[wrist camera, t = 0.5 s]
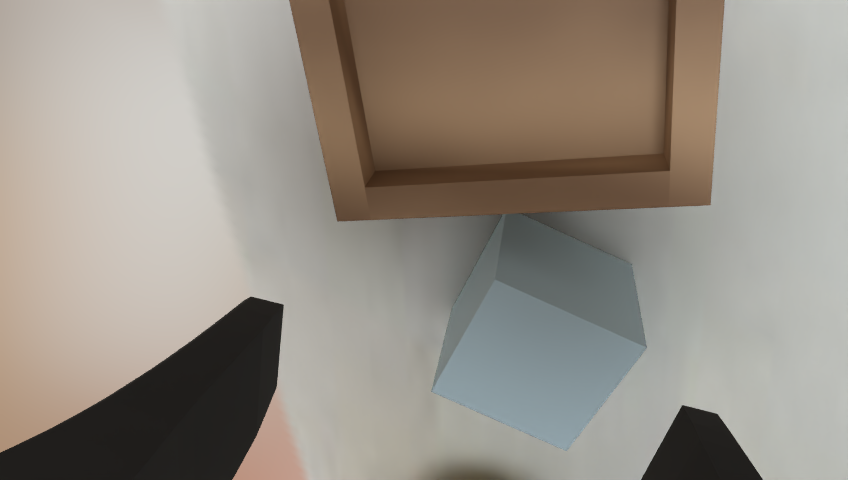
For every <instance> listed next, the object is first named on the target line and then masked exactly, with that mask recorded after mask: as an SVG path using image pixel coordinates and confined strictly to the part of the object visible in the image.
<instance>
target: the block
mask: <svg viewBox="0 0 848 480" xmlns="http://www.w3.org/2000/svg"><path fill="white" fill-rule="evenodd" d="M646 348H647V346H646V341H645V335H644V329H643V324H642V318H641V313H640V307H639V302H638V296H637V291H636V285H635V279H634V274H633V268H632V264H630V263H628V262H626V261H623V260H621V259H619V258H617V257H615V256H612V255H610V254H608V253H606V252H604V251H601V250H599V249H597V248H595V247H593V246H590V245H588V244H586V243H584V242H582V241H579V240H577V239H575V238H573V237H570V236H568V235H566V234H564V233H562V232H559V231H557V230H555V229H553V228H551V227H548V226H546V225H544V224H542V223H540V222H537V221H535V220H533V219H531V218H529V217H526V216H524V215H522V214H520V213H518V214H503V215H502V217H501V219H500V221H499V222H498V224H497V226H496V228H495V230H494V232H493V234H492V235H491V237H490V239H489V241H488V243H487V245H486V247H485V248H484V250H483V252H482V254H481V256H480V258H479V260H478V261H477V263H476V265H475V267H474V269H473V271H472V272H471V274H470V276H469V278H468V280H467V282H466V284H465V285H464V287H463V289H462V291H461V293H460V295H459V297H458V298H457V300H456V302H455V304H454V306H453V308H452V310H451V315H450V319H449V323H448V327H447V331H446V335H445V339H444V343H443V347H442V351H441V355H440V359H439V363H438V367H437V371H436V375H435V379H434V383H433V387H432V391H431V392H433V393H435V394H438V395H440V396H442V397H445V398H447V399H449V400H451V401H454V402H456V403H458V404H460V405H463V406H465V407H467V408H470V409H472V410H474V411H476V412H479V413H481V414H483V415H485V416H488V417H490V418H492V419H495V420H497V421H499V422H501V423H504V424H506V425H508V426H511V427H513V428H515V429H517V430H520V431H522V432H524V433H526V434H529V435H531V436H533V437H536V438H538V439H540V440H542V441H545V442H547V443H549V444H551V445H554V446H556V447H558V448H561V449H563V450H565V451H567V450H568V449H569V447H570V446H571V445H572V443H573V442H574V441H575V440H576V438H577V437H578V436H579V434H580V433H581V432H582V431H583V429H584V428H585V427H586V425H587V424H588V423H589V422H590V420H591V419H592V418H593V416H594V415H595V414H596V413H597V411H598V410H599V409H600V407H601V406H602V405H603V403H604V402H605V401H606V400H607V398H608V397H609V396H610V394H611V393H612V392H613V391H614V389H615V388H616V387H617V385H618V384H619V383H620V382H621V380H622V379H623V378H624V376H625V375H626V374H627V373H628V371H629V370H630V369H631V367H632V366H633V365H634V364H635V362H636V361H637V360H638V358H639V357H640V356H641V355H642V353H643V352H644V351H645V349H646Z"/></svg>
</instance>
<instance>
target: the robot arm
mask: <svg viewBox="0 0 848 480" xmlns="http://www.w3.org/2000/svg"><path fill="white" fill-rule="evenodd" d="M283 306H284V305H282V304H278V303H274V302H270V301H267V300H263V299H259V298H255V297H249V298H248V299H246V300H244V301H243V302H242V303H240V304H239V305H238V306H237V307H235V308H234V309H233V310H232V311H230V312H229V313H228V314H227V315H225V316H224V317H222V318H221V319H220V320H219V321H217V322H216V323H215V324H213V325H212V326H211V327H210V328H208V329H207V330H205V331H204V332H203V333H201V334H200V335H199V336H197V337H196V338H195V339H193V340H192V341H191V342H189V343H188V344H187V345H185V346H184V347H182V348H181V349H179V350H178V351H177V352H175V353H174V354H172V355H171V356H170V357H168V358H167V359H165V360H164V361H162V362H161V363H159V364H158V365H157V366H155V367H154V368H152V369H151V370H149V371H147V372H146V373H144V374H143V375H141V376H140V377H138V378H136V379H135V380H133V381H132V382H130V383H129V384H127V385H126V386H124V387H123V388H121V389H119V390H118V391H116V392H115V393H113V394H111V395H110V396H108V397H106V398H105V399H103V400H101V401H100V402H98V403H96V404H95V405H93V406H91V407H89V408H88V409H86V410H84V411H82V412H80V413H79V414H77V415H75V416H73V417H71V418H69V419H68V420H66V421H64V422H62V423H60V424H58V425H56V426H55V427H53V428H51V429H49V430H47V431H45V432H43V433H41V434H39V435H37V436H35V437H32V438H30V439H28V440H26V441H24V442H22V443H20V444H18V445H16V446H14V447H12V448H9V449H7V450H5V451H3V452H1V453H0V480H232V479H233V477H234V476H235V474H236V472H237V470H238V468H239V467H240V465H241V463H242V461H243V459H244V457H245V456H246V454H247V452H248V450H249V448H250V447H251V445H252V443H253V441H254V439H255V438H256V436H257V433H258V431H259V428H260V426H261V424H262V421H263V419H264V417H265V414H266V412H267V409H268V407H269V404H270V402H271V399H272V397H273V394H274V392H275V390H276V387H277V377H278V365H279V353H280V342H281V330H282V318H283ZM641 480H763V479H762V478H761V476H760V475H759V473H758V472H757V470H756V469H755V467H754V466H753V464H752V463H751V462H750V460H749V459H748V457H747V456H746V454H745V453H744V451H743V450H742V448H741V447H740V445H739V444H738V443H737V441H736V440H735V438H734V437H733V435H732V434H731V432H730V431H729V430H728V428H727V427H726V425H725V424H724V422H723V421H722V420H721V418H720V417H719V416H718V414H715V413H711V412H707V411H703V410H699V409H695V408H691V407H688V406H684V405H682V407H681V409H680V411H679V412H678V414H677V416H676V418H675V420H674V421H673V423H672V425H671V427H670V429H669V430H668V432H667V434H666V436H665V438H664V439H663V441H662V443H661V445H660V447H659V448H658V450H657V452H656V454H655V456H654V457H653V459H652V461H651V463H650V465H649V466H648V468H647V470H646V472H645V474H644V475H643V477H642V479H641Z"/></svg>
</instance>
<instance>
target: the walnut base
mask: <svg viewBox="0 0 848 480" xmlns="http://www.w3.org/2000/svg"><path fill="white" fill-rule="evenodd" d="M289 1H290V5H291V10H292V15H293V19H294V24H295V28H296V33H297V38H298V42H299V47H300V51H301V56H302V61H303V65H304V70H305V74H306V79H307V84H308V88H309V93H310V97H311V102H312V106H313V111H314V116H315V120H316V125H317V129H318V134H319V139H320V143H321V148H322V152H323V157H324V162H325V166H326V171H327V175H328V180H329V185H330V189H331V194H332V198H333V203H334V208H335V212H336V217H337V221H357V220H380V219H403V218H426V217H449V216H472V215H495V214H518V213H541V212H564V211H587V210H610V209H633V208H656V207H679V206H702V205H710V203H711V189H712V174H713V160H714V145H715V131H716V116H717V102H718V87H719V73H720V58H721V44H722V30H723V15H724V1H725V0H289Z"/></svg>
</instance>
